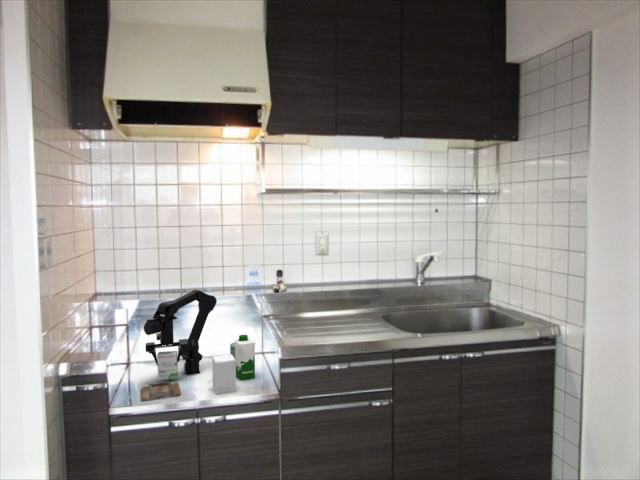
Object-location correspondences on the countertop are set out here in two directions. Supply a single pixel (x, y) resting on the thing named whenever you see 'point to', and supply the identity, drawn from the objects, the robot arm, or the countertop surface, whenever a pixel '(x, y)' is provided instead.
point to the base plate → (160, 391)
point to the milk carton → (245, 358)
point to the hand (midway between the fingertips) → (167, 363)
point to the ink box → (167, 365)
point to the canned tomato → (232, 349)
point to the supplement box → (224, 374)
